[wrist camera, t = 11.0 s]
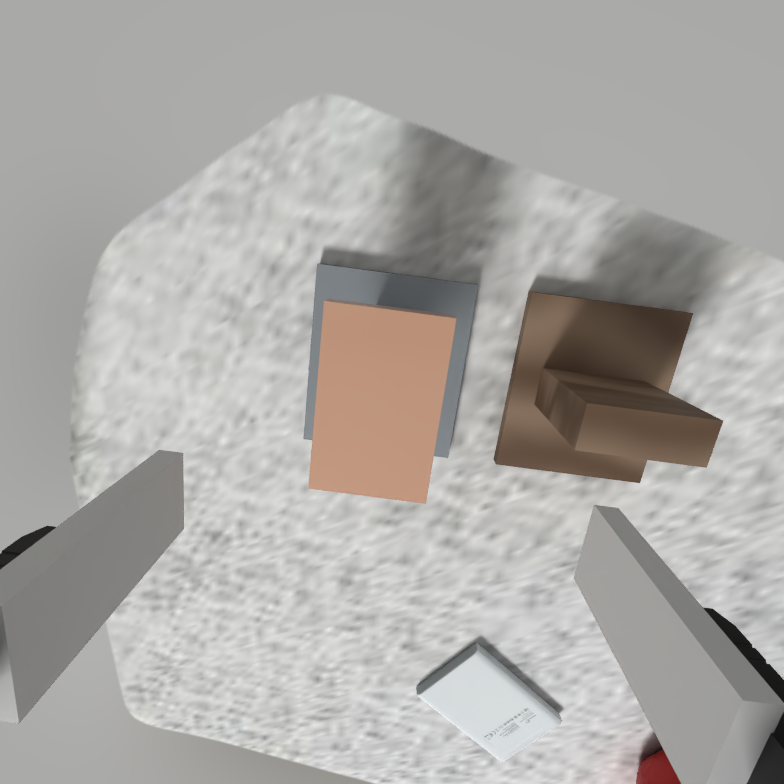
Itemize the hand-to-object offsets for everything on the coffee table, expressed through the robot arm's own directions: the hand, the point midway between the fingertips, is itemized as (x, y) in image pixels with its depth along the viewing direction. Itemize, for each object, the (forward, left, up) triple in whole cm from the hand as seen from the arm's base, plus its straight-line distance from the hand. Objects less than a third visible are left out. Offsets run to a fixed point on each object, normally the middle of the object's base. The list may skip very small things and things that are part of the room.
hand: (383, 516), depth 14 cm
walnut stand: (0, -15, -23) cm, 27 cm away
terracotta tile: (0, +1, -13) cm, 13 cm away
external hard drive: (-33, -14, -23) cm, 43 cm away
